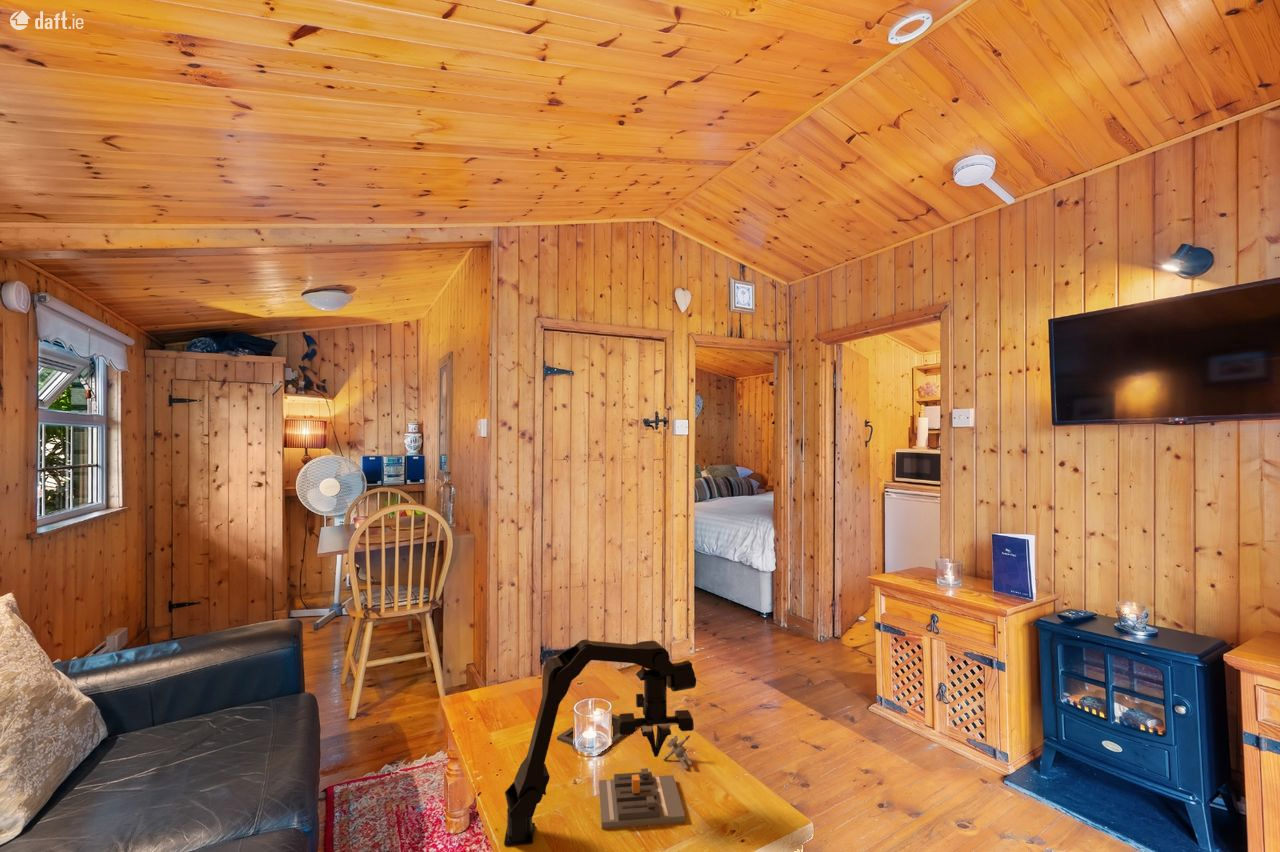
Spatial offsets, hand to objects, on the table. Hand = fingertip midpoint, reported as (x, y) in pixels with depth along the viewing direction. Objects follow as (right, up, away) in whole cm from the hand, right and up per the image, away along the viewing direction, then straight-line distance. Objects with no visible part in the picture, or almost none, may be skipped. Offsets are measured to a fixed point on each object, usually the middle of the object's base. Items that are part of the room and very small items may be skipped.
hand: (655, 756), depth 146 cm
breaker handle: (-5, -8, -1) cm, 10 cm away
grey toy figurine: (+8, -12, +18) cm, 23 cm away
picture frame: (-17, -13, +35) cm, 41 cm away
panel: (-4, -12, -1) cm, 12 cm away
